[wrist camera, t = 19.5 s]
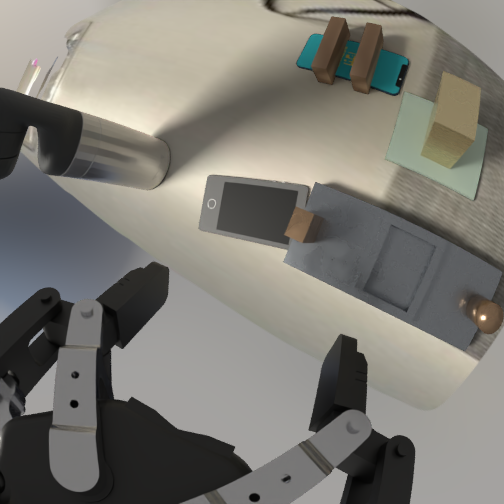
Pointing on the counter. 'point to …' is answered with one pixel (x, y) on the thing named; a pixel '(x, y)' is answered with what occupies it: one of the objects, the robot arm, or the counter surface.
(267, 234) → the smartphone
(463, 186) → the pad
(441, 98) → the brushed brass block
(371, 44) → the phone stand
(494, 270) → the grey slotted base
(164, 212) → the counter surface
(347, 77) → the smartphone
